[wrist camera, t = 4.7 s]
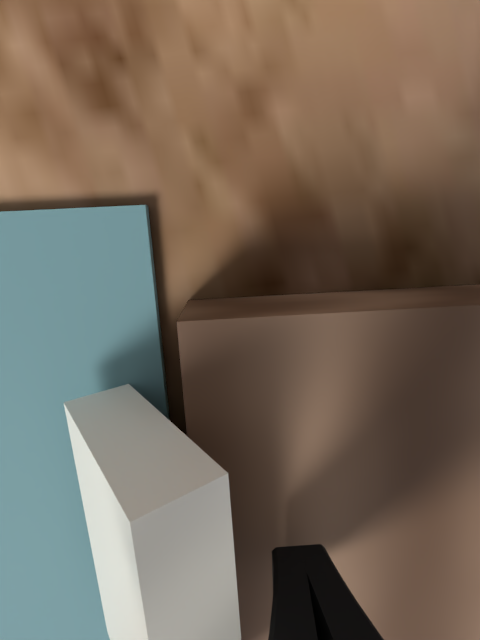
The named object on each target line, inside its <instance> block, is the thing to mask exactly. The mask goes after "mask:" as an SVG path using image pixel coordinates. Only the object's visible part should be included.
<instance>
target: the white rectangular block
mask: <svg viewBox="0 0 480 640" xmlns="http://www.w3.org/2000/svg"><path fill="white" fill-rule="evenodd" d="M64 408H65V413H66V418H67V423H68V429H69V434H70V439H71V444H72V450H73V455H74V460H75V465H76V470H77V476H78V481H79V486H80V491H81V497H82V502H83V507H84V512H85V518H86V523H87V528H88V533H89V539H90V544H91V549H92V554H93V559H94V565H95V570H96V575H97V580H98V586H99V591H100V596H101V601H102V607H103V612H104V617H105V622H106V628H107V632H108V635H109V638H110V640H241V629H240V617H239V604H238V591H237V579H236V566H235V553H234V541H233V528H232V516H231V503H230V490H229V478H228V473H227V472H226V471H225V470H224V469H223V468H222V467H221V466H220V465H218V464H217V463H216V462H215V461H214V460H213V459H212V458H211V457H210V456H208V455H207V454H206V453H205V452H204V451H203V450H202V449H201V448H200V447H198V446H197V445H196V444H195V443H194V442H193V441H192V440H191V439H190V438H188V437H187V436H186V435H185V434H184V433H183V432H182V431H181V430H180V429H178V428H177V427H176V426H175V425H174V424H173V423H172V422H171V421H170V420H168V419H167V418H166V417H165V416H164V415H163V414H162V413H161V412H160V411H158V410H157V409H156V408H155V407H154V406H153V405H152V404H151V403H149V402H148V401H147V400H146V399H145V398H144V397H143V396H142V395H141V394H139V393H138V392H137V391H136V390H135V389H134V388H133V387H132V386H131V385H129V384H126V385H122V386H119V387H115V388H112V389H108V390H105V391H101V392H98V393H94V394H91V395H87V396H84V397H80V398H77V399H73V400H70V401H66V402H64Z"/></svg>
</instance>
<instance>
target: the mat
mask: <svg viewBox="0 0 480 640" xmlns="http://www.w3.org/2000/svg"><path fill="white" fill-rule="evenodd" d="M126 384H129V385H131V386H132V387H133V388H134V389H135V390H136V391H137V392H138V393H139V394H141V395H142V396H143V397H144V398H145V399H146V400H147V401H148V402H149V403H151V404H152V405H153V406H154V407H155V408H156V409H157V410H158V411H160V412H161V413H162V414H163V415H164V416H165V417H166V418H167V419H168V420H170V415H169V405H168V395H167V386H166V376H165V366H164V356H163V347H162V337H161V327H160V317H159V308H158V298H157V288H156V278H155V268H154V259H153V249H152V239H151V229H150V220H149V210H148V206H147V205H131V206H110V207H89V208H67V209H46V210H25V211H3V212H0V640H110V638H109V635H108V632H107V628H106V622H105V617H104V612H103V607H102V601H101V596H100V591H99V586H98V580H97V575H96V570H95V565H94V559H93V554H92V549H91V544H90V539H89V533H88V528H87V523H86V518H85V512H84V507H83V502H82V497H81V491H80V486H79V481H78V476H77V470H76V465H75V460H74V455H73V450H72V444H71V439H70V434H69V429H68V423H67V418H66V413H65V408H64V402H66V401H70V400H73V399H77V398H80V397H84V396H87V395H91V394H94V393H98V392H101V391H105V390H108V389H112V388H115V387H119V386H122V385H126Z"/></svg>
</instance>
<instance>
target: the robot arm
mask: <svg viewBox="0 0 480 640" xmlns="http://www.w3.org/2000/svg"><path fill="white" fill-rule="evenodd" d="M272 576H273V602H272V611H271V620H270V629H269V637H268V640H384V639H383V638H382V636H381V635H380V634H379V632H378V631H377V629H376V628H375V626H374V625H373V624H372V622H371V621H370V619H369V618H368V616H367V615H366V613H365V612H364V611H363V609H362V608H361V606H360V605H359V603H358V602H357V600H356V599H355V597H354V596H353V594H352V593H351V591H350V589H349V588H348V586H347V585H346V583H345V582H344V580H343V578H342V577H341V575H340V573H339V572H338V570H337V568H336V567H335V565H334V563H333V562H332V560H331V558H330V556H329V554H328V553H327V551H326V549H325V547H324V546H323V545H321V544H313V545H299V546H286V547H276V548H274V549H273V550H272Z"/></svg>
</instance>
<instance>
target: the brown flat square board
mask: <svg viewBox="0 0 480 640" xmlns="http://www.w3.org/2000/svg"><path fill="white" fill-rule="evenodd" d="M177 332H178V343H179V354H180V365H181V376H182V386H183V397H184V408H185V419H186V430H187V437H188V438H190V439H191V440H192V441H193V442H194V443H195V444H196V445H197V446H198V447H200V448H201V449H202V450H203V451H204V452H205V453H206V454H207V455H208V456H210V457H211V458H212V459H213V460H214V461H215V462H216V463H217V464H218V465H220V466H221V467H222V468H223V469H224V470H225V471H226V472H227V473H228V478H229V490H230V503H231V516H232V528H233V541H234V553H235V566H236V579H237V591H238V604H239V617H240V629H241V640H268V637H269V629H270V620H271V611H272V602H273V576H272V550H273V549H274V548H276V547H286V546H299V545H313V544H321V545H323V546H324V547H325V549H326V551H327V553H328V554H329V556H330V558H331V560H332V562H333V563H334V565H335V567H336V568H337V570H338V572H339V573H340V575H341V577H342V578H343V580H344V582H345V583H346V585H347V586H348V588H349V589H350V591H351V593H352V594H353V596H354V597H355V599H356V600H357V602H358V603H359V605H360V606H361V608H362V609H363V611H364V612H365V613H366V615H367V616H368V618H369V619H370V621H371V622H372V624H373V625H374V626H375V628H376V629H377V631H378V632H379V634H380V635H381V636H382V638H383V639H384V640H480V284H477V285H458V286H440V287H421V288H403V289H384V290H366V291H347V292H329V293H310V294H292V295H273V296H255V297H236V298H218V299H199V300H188V302H187V304H186V306H185V307H184V309H183V311H182V313H181V315H180V316H179V318H178V320H177Z"/></svg>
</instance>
